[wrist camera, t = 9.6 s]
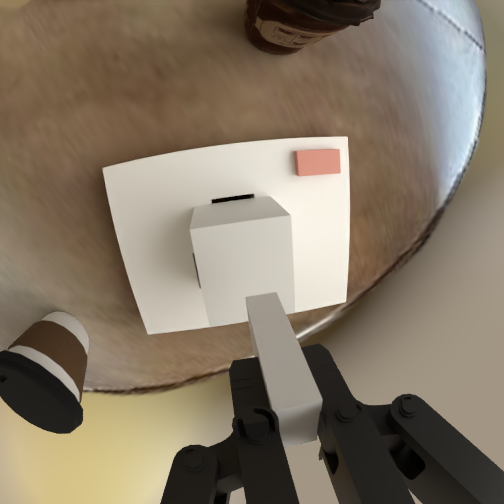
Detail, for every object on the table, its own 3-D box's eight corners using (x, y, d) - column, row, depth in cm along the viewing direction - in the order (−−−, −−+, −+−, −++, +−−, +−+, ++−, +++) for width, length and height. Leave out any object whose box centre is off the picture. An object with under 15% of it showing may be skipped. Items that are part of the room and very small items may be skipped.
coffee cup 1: (20, 316, 26) (-24, 377, 15) (60, 276, 25) (5, 345, 14) (75, 373, 30) (51, 441, 19) (124, 345, 29) (101, 428, 18)
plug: (269, 261, 27) (294, 312, 19) (208, 270, 27) (209, 326, 19) (263, 190, 25) (290, 215, 17) (196, 199, 24) (189, 229, 16)
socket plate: (334, 287, 30) (348, 305, 27) (152, 317, 28) (146, 339, 25) (332, 136, 24) (351, 136, 20) (114, 164, 22) (98, 169, 18)
